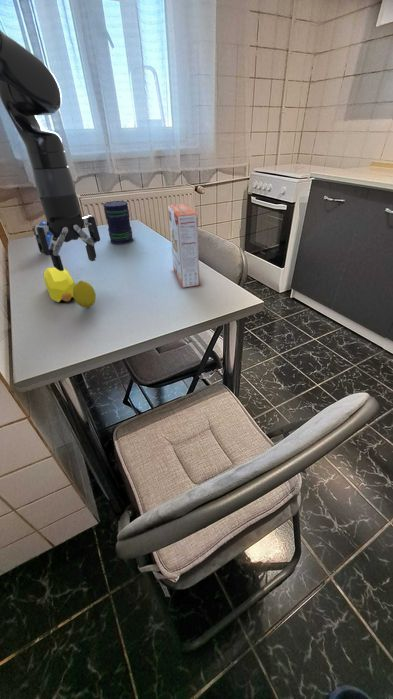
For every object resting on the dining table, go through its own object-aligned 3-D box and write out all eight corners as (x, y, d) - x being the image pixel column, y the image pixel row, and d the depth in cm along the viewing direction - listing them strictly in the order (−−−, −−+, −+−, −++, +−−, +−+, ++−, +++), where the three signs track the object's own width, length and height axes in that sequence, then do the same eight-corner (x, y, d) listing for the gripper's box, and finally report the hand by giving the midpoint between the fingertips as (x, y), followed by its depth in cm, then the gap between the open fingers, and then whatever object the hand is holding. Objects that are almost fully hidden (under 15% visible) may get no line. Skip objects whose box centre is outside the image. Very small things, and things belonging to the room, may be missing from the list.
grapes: (64, 254, 116) (54, 222, 109) (46, 257, 114) (35, 224, 107) (62, 246, 125) (53, 215, 118) (45, 248, 123) (35, 217, 116)
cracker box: (172, 271, 100) (167, 204, 87) (189, 269, 101) (186, 202, 88) (180, 288, 89) (176, 214, 76) (200, 286, 90) (198, 212, 77)
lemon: (95, 313, 78) (87, 285, 73) (74, 313, 78) (66, 285, 74) (101, 303, 83) (94, 276, 78) (81, 303, 83) (73, 276, 78)
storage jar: (137, 238, 131) (132, 201, 122) (125, 245, 124) (118, 206, 115) (118, 236, 134) (112, 200, 125) (105, 243, 127) (97, 205, 118)
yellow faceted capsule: (70, 279, 97) (45, 284, 94) (64, 259, 92) (37, 264, 89) (83, 301, 84) (54, 308, 81) (76, 279, 80) (46, 285, 77)
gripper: (78, 186, 70) (94, 254, 79) (16, 194, 61) (42, 269, 71) (95, 189, 65) (109, 260, 75) (31, 198, 57) (56, 277, 67)
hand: (76, 265), depth 73 cm, fingers open, 8 cm apart
